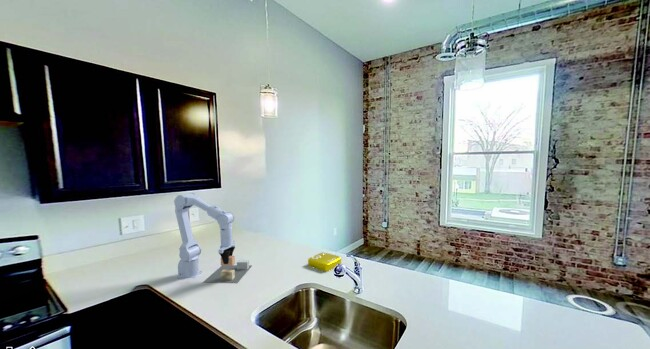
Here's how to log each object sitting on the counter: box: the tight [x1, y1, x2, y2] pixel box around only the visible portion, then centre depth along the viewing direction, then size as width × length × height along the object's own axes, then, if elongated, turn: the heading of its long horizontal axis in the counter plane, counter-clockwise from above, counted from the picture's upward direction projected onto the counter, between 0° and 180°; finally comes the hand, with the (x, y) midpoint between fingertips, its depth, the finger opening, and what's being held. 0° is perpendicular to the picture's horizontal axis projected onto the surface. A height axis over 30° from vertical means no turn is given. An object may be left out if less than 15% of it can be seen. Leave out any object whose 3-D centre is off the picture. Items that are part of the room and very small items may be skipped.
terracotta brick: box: [220, 255, 236, 267], centre depth 133 cm, size 6×3×4 cm, turn 87°
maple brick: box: [221, 270, 235, 280], centre depth 133 cm, size 6×3×4 cm, turn 86°
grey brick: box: [236, 259, 250, 269], centre depth 146 cm, size 6×3×4 cm, turn 86°
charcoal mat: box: [202, 264, 253, 284], centre depth 139 cm, size 18×22×1 cm
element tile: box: [307, 251, 342, 272], centre depth 151 cm, size 15×15×5 cm
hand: (227, 262), depth 133 cm, fingers closed on terracotta brick, 3 cm apart
